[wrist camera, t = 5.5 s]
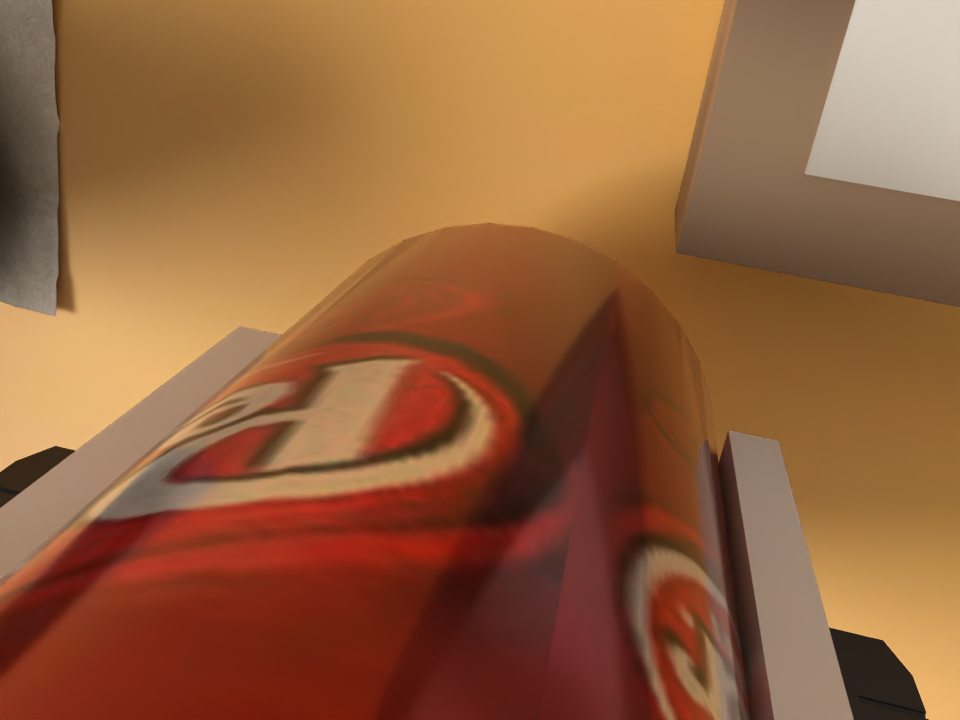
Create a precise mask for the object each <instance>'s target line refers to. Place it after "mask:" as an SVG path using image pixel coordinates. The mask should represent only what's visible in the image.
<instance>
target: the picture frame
mask: <svg viewBox="0 0 960 720" xmlns="http://www.w3.org/2000/svg"><path fill="white" fill-rule="evenodd" d="M675 231H676V253H679V254H685V255H690V256H695V257H700V258H706V259H711V260H716V261H721V262H726V263H732V264H737V265H742V266H747V267H753V268H758V269H763V270H768V271H774V272H779V273H784V274H789V275H794V276H800V277H805V278H810V279H815V280H821V281H826V282H831V283H836V284H842V285H847V286H852V287H857V288H862V289H868V290H873V291H878V292H883V293H889V294H894V295H899V296H904V297H910V298H915V299H920V300H925V301H930V302H936V303H941V304H946V305H951V306H957V307H960V0H725V4H724V8H723V12H722V17H721V21H720V25H719V29H718V33H717V38H716V42H715V46H714V50H713V54H712V59H711V63H710V67H709V71H708V75H707V80H706V84H705V88H704V92H703V96H702V101H701V105H700V109H699V113H698V117H697V122H696V126H695V130H694V134H693V138H692V143H691V147H690V151H689V155H688V159H687V164H686V168H685V172H684V176H683V180H682V185H681V189H680V193H679V197H678V202H677V206H676V210H675Z"/></svg>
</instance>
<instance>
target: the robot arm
mask: <svg viewBox="0 0 960 720" xmlns="http://www.w3.org/2000/svg"><path fill="white" fill-rule="evenodd" d="M280 336H282V335H279V334H274V333H270V332H265V331H260V330H256V329H251V328H246V327H242V326H239V327H238V328H237V329H236V330H234V331H233V332H232V333H230V334H229V335H228V336H226V337H225V338H224V339H222V340H221V341H220V342H218V343H217V344H216V345H214V346H213V347H212V348H211V349H209V350H208V351H207V352H205V353H204V354H203V355H201V356H200V357H199V358H197V359H196V360H195V361H193V362H192V363H191V364H189V365H188V366H187V367H185V368H184V369H183V370H182V371H180V372H179V373H178V374H176V375H175V376H174V377H172V378H171V379H170V380H168V381H167V382H166V383H164V384H163V385H162V386H160V387H159V388H158V389H157V390H155V391H154V392H153V393H151V394H150V395H149V396H147V397H146V398H145V399H143V400H142V401H141V402H139V403H138V404H137V405H135V406H134V407H133V408H131V409H130V410H129V411H128V412H126V413H125V414H124V415H122V416H121V417H120V418H118V419H117V420H116V421H114V422H113V423H112V424H110V425H109V426H108V427H106V428H105V429H104V430H103V431H101V432H100V433H99V434H97V435H96V436H95V437H93V438H92V439H91V440H89V441H88V442H87V443H85V444H84V445H83V446H81V447H80V448H79V449H78V450H76V451H74V450H70V449H66V448H62V447H58V446H54V447H52V448H49V449H47V450H44V451H41V452H39V453H36V454H33V455H31V456H28V457H26V458H23V459H20V460H18V461H15V462H14V463H13V464H11V465H10V466H8V467H7V468H5V469H4V470H3V471H1V472H0V579H1V578H2V577H3V576H5V575H6V574H7V573H8V572H9V571H10V570H12V569H13V568H14V567H15V566H16V565H17V564H18V563H20V562H21V561H22V560H23V559H24V558H25V557H27V556H28V555H29V554H30V553H31V552H32V551H33V550H35V549H36V548H37V547H38V546H39V545H40V544H42V543H43V542H44V541H45V540H46V539H47V538H48V537H50V536H51V535H52V534H53V533H54V532H55V531H57V530H58V529H59V528H60V527H61V526H62V525H63V524H65V523H66V522H67V521H68V520H69V519H70V518H72V517H73V516H74V515H75V514H76V513H77V512H78V511H80V510H81V509H82V508H83V507H84V506H85V505H87V504H88V503H89V502H90V501H91V500H92V499H93V498H95V497H96V496H97V495H98V494H99V493H100V492H102V491H103V490H104V489H105V488H106V487H107V486H108V485H110V484H111V483H112V482H113V481H114V480H115V479H117V478H118V477H119V476H120V475H121V474H122V473H123V472H125V471H126V470H127V469H128V468H129V467H130V466H132V465H133V464H134V463H135V462H136V461H137V460H138V459H140V458H141V457H142V456H143V455H144V454H145V453H147V452H148V451H149V450H150V449H151V448H152V447H153V446H155V445H156V444H157V443H158V442H159V441H160V440H162V439H163V438H164V437H165V436H166V435H167V434H168V433H170V432H171V431H172V430H173V429H174V428H175V427H177V426H178V425H179V424H180V423H181V422H182V421H183V420H185V419H186V418H187V417H188V416H189V415H190V414H192V413H193V412H194V411H195V410H196V409H197V408H198V407H200V406H201V405H202V404H203V403H204V402H205V401H207V400H208V399H209V398H210V397H211V396H212V395H213V394H215V393H216V392H217V391H218V390H219V389H220V388H222V387H223V386H224V385H225V384H226V383H227V382H228V381H230V380H231V379H232V378H233V377H234V376H235V375H237V374H238V373H239V372H240V371H241V370H242V369H243V368H245V367H246V366H247V365H248V364H249V363H250V362H252V361H253V360H254V359H255V358H256V357H257V356H258V355H260V354H261V353H262V352H263V351H264V350H265V349H267V348H268V347H269V346H270V345H271V344H272V343H273V342H275V341H276V340H277V339H278V338H279V337H280ZM718 465H719V473H720V481H721V489H722V497H723V505H724V513H725V521H726V529H727V537H728V545H729V553H730V561H731V569H732V577H733V585H734V593H735V601H736V609H737V617H738V625H739V633H740V641H741V649H742V657H743V665H744V673H745V681H746V689H747V697H748V705H749V713H750V720H929V719H926V718H925V714H926V711H925V708H924V705H923V703H922V700H921V697H920V695H919V692H918V689H917V687H916V684H915V681H914V679H913V676H912V675H911V674H910V672H909V671H908V670H907V669H906V668H905V666H904V665H903V664H902V663H901V662H900V660H899V659H898V658H897V657H896V656H895V654H894V653H893V652H892V651H891V650H890V648H889V647H888V646H887V645H886V644H885V642H884V641H883V640H879V639H874V638H870V637H866V636H862V635H858V634H853V633H849V632H845V631H841V630H837V629H832V628H829V626H828V623H827V619H826V615H825V611H824V608H823V604H822V600H821V597H820V593H819V589H818V585H817V582H816V578H815V574H814V571H813V567H812V563H811V559H810V556H809V552H808V548H807V545H806V541H805V537H804V533H803V530H802V526H801V522H800V519H799V515H798V511H797V507H796V504H795V500H794V496H793V493H792V489H791V485H790V481H789V478H788V474H787V470H786V467H785V463H784V459H783V455H782V452H781V448H780V444H779V441H777V440H772V439H768V438H763V437H758V436H754V435H749V434H744V433H740V432H735V431H730V430H728V434H727V437H726V440H725V444H724V447H723V451H722V454H721V457H720V461H719V464H718Z"/></svg>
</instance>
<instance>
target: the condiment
mask: <svg viewBox="0 0 960 720" xmlns="http://www.w3.org/2000/svg"><path fill="white" fill-rule="evenodd" d="M54 71H55V33H54V29H53V9H52V0H0V301H1V302H4V303H7V304H10V305H12V306H15V307H19V308H24V309H29V310H33V311H37V312H41V313H44V314H48V315H52V316H56V281H57V278H58V272H59V266H58V236H59V233H58V221H57V215H58V207H59V186H58V152H57V136H58V132H59V130H60V128H59V126H60V120H59V118H58V115H57V106H56V100H55V76H54Z"/></svg>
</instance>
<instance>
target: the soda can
mask: <svg viewBox="0 0 960 720" xmlns="http://www.w3.org/2000/svg"><path fill="white" fill-rule="evenodd" d="M0 720H750V713H749V705H748V697H747V689H746V681H745V673H744V665H743V657H742V649H741V641H740V633H739V625H738V617H737V609H736V601H735V593H734V585H733V577H732V569H731V561H730V553H729V545H728V537H727V529H726V521H725V513H724V505H723V497H722V489H721V481H720V473H719V465H718V457H717V449H716V441H715V433H714V425H713V417H712V409H711V402H710V398H709V395H708V391H707V387H706V384H705V380H704V376H703V373H702V369H701V365H700V362H699V361H698V359H697V357H696V355H695V353H694V351H693V349H692V347H691V345H690V343H689V341H688V340H687V338H686V336H685V334H684V332H683V330H682V328H681V326H680V324H679V323H678V322H677V321H676V319H675V318H674V317H673V316H672V314H671V313H670V312H669V311H668V310H667V308H666V307H665V306H664V305H663V304H662V302H661V301H660V300H659V299H658V297H657V296H656V295H655V294H654V293H653V291H652V290H651V289H650V288H648V287H647V286H646V285H645V284H643V283H642V282H641V281H640V280H638V279H637V278H636V277H635V276H634V275H632V274H631V273H630V272H629V271H627V270H626V269H625V268H624V267H622V266H621V265H620V264H619V263H618V262H616V261H614V260H612V259H610V258H609V257H607V256H605V255H603V254H601V253H599V252H597V251H595V250H593V249H592V248H590V247H588V246H586V245H584V244H582V243H580V242H578V241H576V240H573V239H570V238H566V237H563V236H560V235H557V234H553V233H550V232H547V231H543V230H540V229H537V228H533V227H524V226H514V225H504V224H495V223H484V224H473V225H463V226H452V227H445V228H442V229H439V230H435V231H432V232H429V233H425V234H422V235H419V236H416V237H412V238H409V239H406V240H403V241H402V242H400V243H398V244H396V245H394V246H393V247H391V248H389V249H387V250H385V251H384V252H382V253H380V254H378V255H376V256H375V257H373V258H371V259H369V260H368V261H367V262H366V263H365V264H363V265H362V266H361V267H360V268H359V269H358V270H356V271H355V272H354V273H353V274H352V275H351V276H350V277H348V278H347V279H346V280H345V281H344V282H343V283H341V284H340V285H339V286H338V287H337V288H336V289H335V290H333V291H332V292H331V293H330V294H329V295H328V296H326V297H325V298H324V299H323V300H322V301H321V302H320V303H318V304H317V305H316V306H315V307H314V308H313V309H312V310H310V311H309V312H308V313H307V314H306V315H305V316H303V317H302V318H301V319H300V320H299V321H298V322H297V323H295V324H294V325H293V326H292V327H291V328H290V329H288V330H287V331H286V332H285V333H284V334H283V335H282V336H280V337H279V338H278V339H277V340H276V341H275V342H273V343H272V344H271V345H270V346H269V347H268V348H267V349H265V350H264V351H263V352H262V353H261V354H260V355H258V356H257V357H256V358H255V359H254V360H253V361H252V362H250V363H249V364H248V365H247V366H246V367H245V368H243V369H242V370H241V371H240V372H239V373H238V374H237V375H235V376H234V377H233V378H232V379H231V380H230V381H228V382H227V383H226V384H225V385H224V386H223V387H222V388H220V389H219V390H218V391H217V392H216V393H215V394H213V395H212V396H211V397H210V398H209V399H208V400H207V401H205V402H204V403H203V404H202V405H201V406H200V407H198V408H197V409H196V410H195V411H194V412H193V413H192V414H190V415H189V416H188V417H187V418H186V419H185V420H183V421H182V422H181V423H180V424H179V425H178V426H177V427H175V428H174V429H173V430H172V431H171V432H170V433H168V434H167V435H166V436H165V437H164V438H163V439H162V440H160V441H159V442H158V443H157V444H156V445H155V446H153V447H152V448H151V449H150V450H149V451H148V452H147V453H145V454H144V455H143V456H142V457H141V458H140V459H138V460H137V461H136V462H135V463H134V464H133V465H132V466H130V467H129V468H128V469H127V470H126V471H125V472H123V473H122V474H121V475H120V476H119V477H118V478H117V479H115V480H114V481H113V482H112V483H111V484H110V485H108V486H107V487H106V488H105V489H104V490H103V491H102V492H100V493H99V494H98V495H97V496H96V497H95V498H93V499H92V500H91V501H90V502H89V503H88V504H87V505H85V506H84V507H83V508H82V509H81V510H80V511H78V512H77V513H76V514H75V515H74V516H73V517H72V518H70V519H69V520H68V521H67V522H66V523H65V524H63V525H62V526H61V527H60V528H59V529H58V530H57V531H55V532H54V533H53V534H52V535H51V536H50V537H48V538H47V539H46V540H45V541H44V542H43V543H42V544H40V545H39V546H38V547H37V548H36V549H35V550H33V551H32V552H31V553H30V554H29V555H28V556H27V557H25V558H24V559H23V560H22V561H21V562H20V563H18V564H17V565H16V566H15V567H14V568H13V569H12V570H10V571H9V572H8V573H7V574H6V575H5V576H3V577H2V578H1V579H0Z"/></svg>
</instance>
